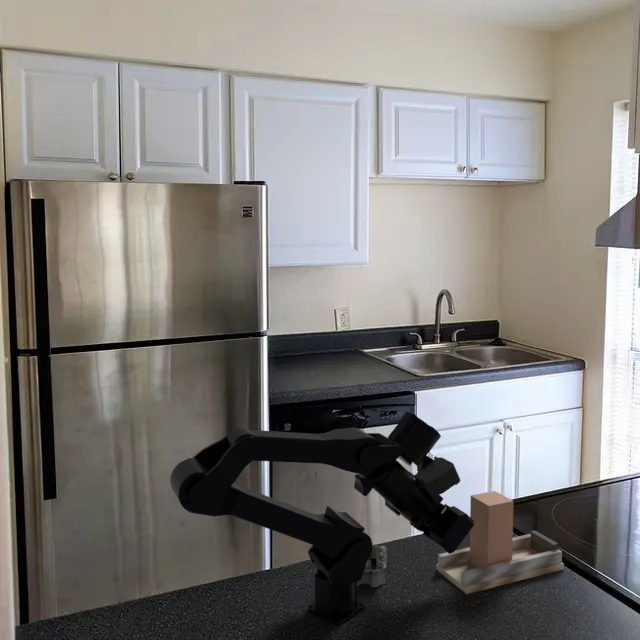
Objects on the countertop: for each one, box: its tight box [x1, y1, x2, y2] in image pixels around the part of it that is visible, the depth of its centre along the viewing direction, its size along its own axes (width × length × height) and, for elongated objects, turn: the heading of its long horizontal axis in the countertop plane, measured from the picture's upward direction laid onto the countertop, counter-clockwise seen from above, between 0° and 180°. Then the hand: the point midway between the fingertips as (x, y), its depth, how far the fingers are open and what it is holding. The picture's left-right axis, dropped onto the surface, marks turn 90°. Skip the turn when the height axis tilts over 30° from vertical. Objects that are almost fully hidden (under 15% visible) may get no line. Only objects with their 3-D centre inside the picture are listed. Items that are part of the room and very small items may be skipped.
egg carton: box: [357, 544, 388, 588], centre depth 114 cm, size 11×8×4 cm
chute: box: [435, 530, 565, 595], centre depth 114 cm, size 20×9×4 cm, turn 113°
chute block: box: [469, 490, 515, 568], centre depth 113 cm, size 5×5×12 cm
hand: (456, 539), depth 110 cm, fingers closed
